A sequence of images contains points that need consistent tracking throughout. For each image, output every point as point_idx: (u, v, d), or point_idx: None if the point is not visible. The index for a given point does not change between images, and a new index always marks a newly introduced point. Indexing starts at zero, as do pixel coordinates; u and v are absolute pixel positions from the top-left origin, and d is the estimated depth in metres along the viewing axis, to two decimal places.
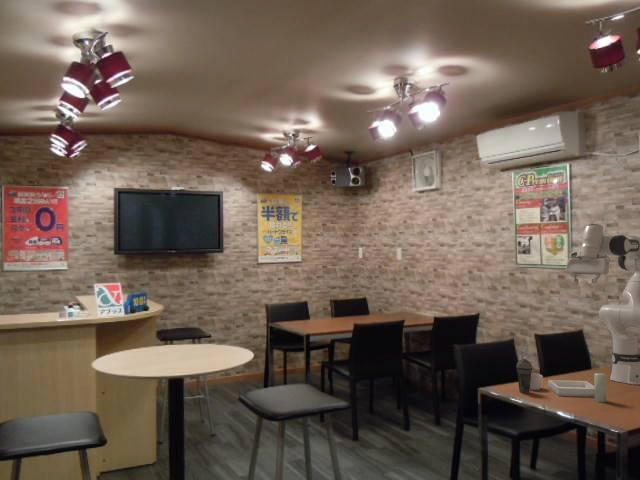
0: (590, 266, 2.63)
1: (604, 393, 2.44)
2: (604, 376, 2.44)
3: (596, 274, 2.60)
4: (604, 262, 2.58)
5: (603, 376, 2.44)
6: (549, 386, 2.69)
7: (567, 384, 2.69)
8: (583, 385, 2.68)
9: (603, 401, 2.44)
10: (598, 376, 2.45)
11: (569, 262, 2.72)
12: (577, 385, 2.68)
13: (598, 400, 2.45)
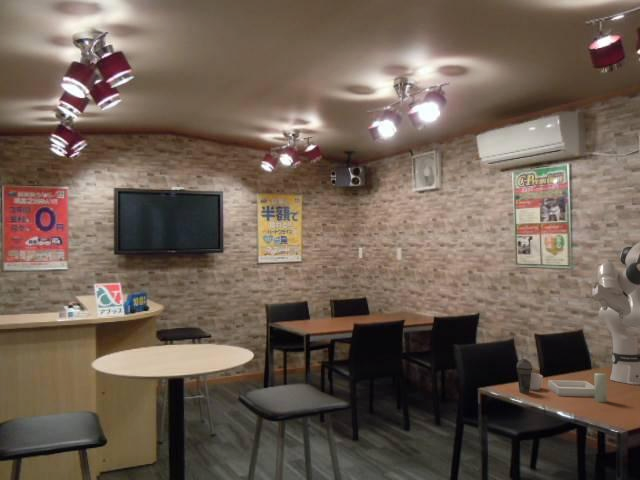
0: None
1: (604, 393, 2.44)
2: (604, 376, 2.44)
3: None
4: None
5: (603, 376, 2.44)
6: (549, 386, 2.69)
7: (567, 384, 2.69)
8: (583, 385, 2.68)
9: (603, 401, 2.44)
10: (598, 376, 2.45)
11: None
12: (577, 385, 2.68)
13: (598, 400, 2.45)
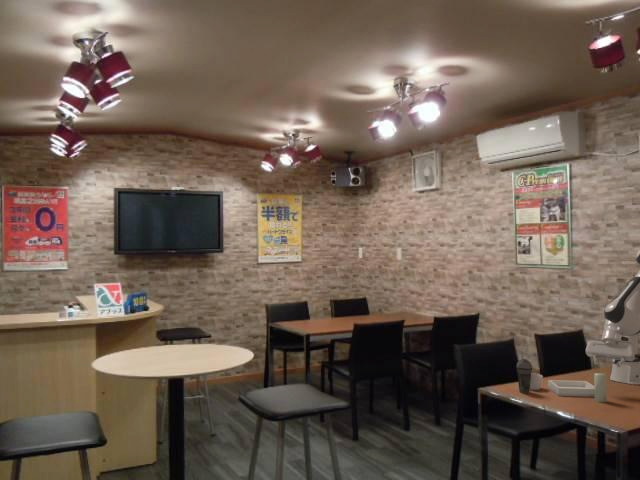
0: None
1: (604, 393, 2.44)
2: (604, 376, 2.44)
3: None
4: None
5: (603, 376, 2.44)
6: (549, 386, 2.69)
7: (567, 384, 2.69)
8: (583, 385, 2.68)
9: (603, 401, 2.44)
10: (598, 376, 2.45)
11: None
12: (577, 385, 2.68)
13: (598, 400, 2.45)
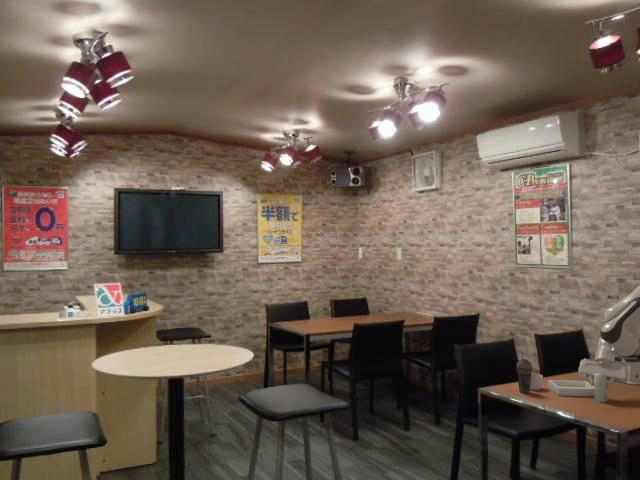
0: None
1: (604, 393, 2.44)
2: (604, 376, 2.44)
3: None
4: None
5: (603, 376, 2.44)
6: (549, 386, 2.69)
7: (567, 384, 2.69)
8: (583, 385, 2.68)
9: (603, 401, 2.44)
10: (598, 376, 2.45)
11: None
12: (577, 385, 2.68)
13: (598, 400, 2.45)
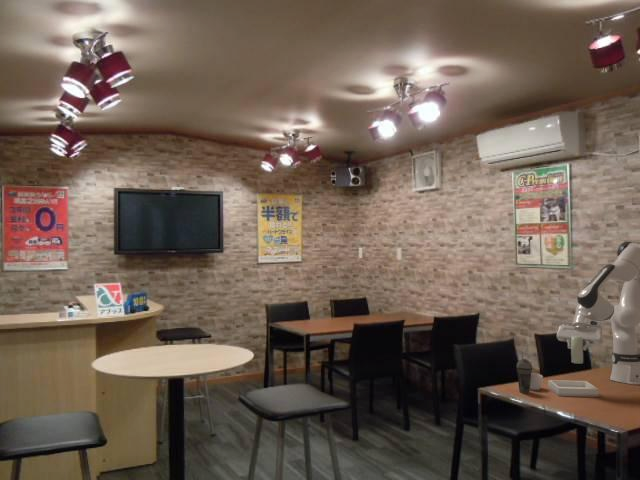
0: None
1: (580, 355, 2.57)
2: (580, 338, 2.57)
3: None
4: None
5: (579, 338, 2.57)
6: (549, 386, 2.69)
7: (567, 384, 2.69)
8: (583, 385, 2.68)
9: (579, 362, 2.57)
10: (574, 339, 2.58)
11: None
12: (577, 385, 2.68)
13: (575, 361, 2.58)
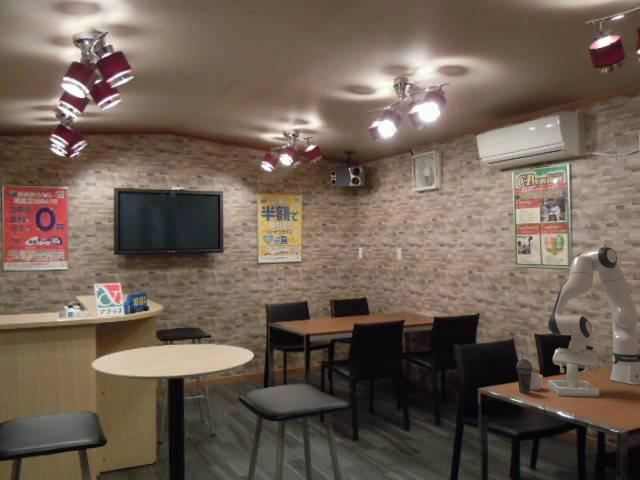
0: None
1: (576, 382, 2.60)
2: (576, 366, 2.60)
3: None
4: None
5: (575, 366, 2.60)
6: (549, 386, 2.69)
7: None
8: (583, 385, 2.68)
9: None
10: (570, 366, 2.60)
11: None
12: None
13: None
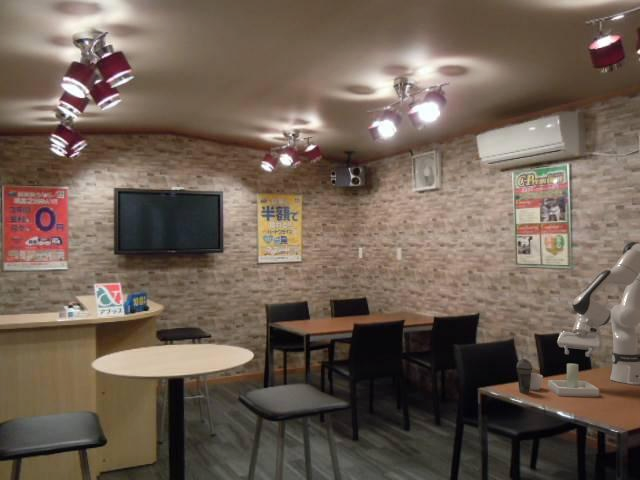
0: None
1: (576, 382, 2.60)
2: (576, 366, 2.60)
3: None
4: None
5: (575, 366, 2.60)
6: (549, 386, 2.69)
7: None
8: (583, 385, 2.68)
9: None
10: (570, 366, 2.60)
11: None
12: None
13: None
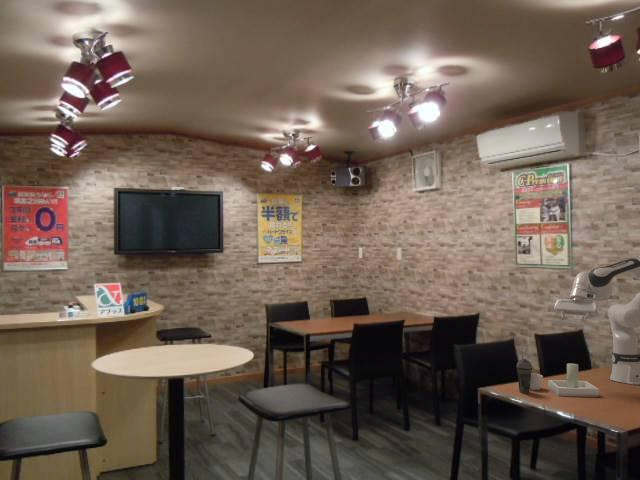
0: None
1: (576, 382, 2.60)
2: (576, 366, 2.60)
3: None
4: None
5: (575, 366, 2.60)
6: (549, 386, 2.69)
7: None
8: (583, 385, 2.68)
9: None
10: (570, 366, 2.60)
11: None
12: None
13: None
